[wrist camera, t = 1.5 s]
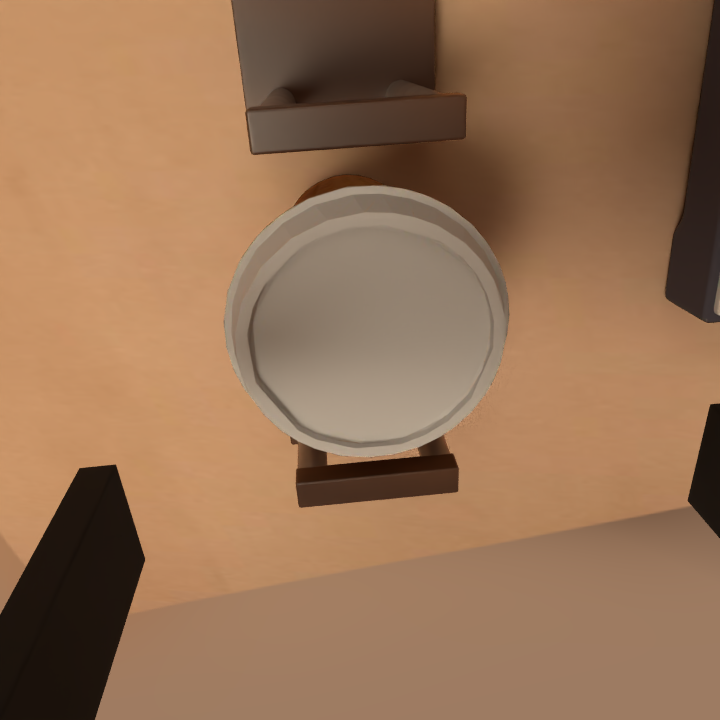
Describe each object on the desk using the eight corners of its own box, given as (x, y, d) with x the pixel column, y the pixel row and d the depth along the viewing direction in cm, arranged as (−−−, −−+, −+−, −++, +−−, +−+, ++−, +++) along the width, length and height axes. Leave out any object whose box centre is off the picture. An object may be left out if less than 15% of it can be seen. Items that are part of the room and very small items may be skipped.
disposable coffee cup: (236, 146, 27) (191, 210, 17) (444, 130, 28) (530, 181, 17) (265, 336, 32) (244, 481, 21) (444, 319, 32) (513, 454, 21)
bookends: (233, -12, 25) (185, -50, 15) (428, -24, 25) (506, -69, 15) (291, 430, 35) (286, 580, 25) (430, 417, 35) (478, 560, 25)
